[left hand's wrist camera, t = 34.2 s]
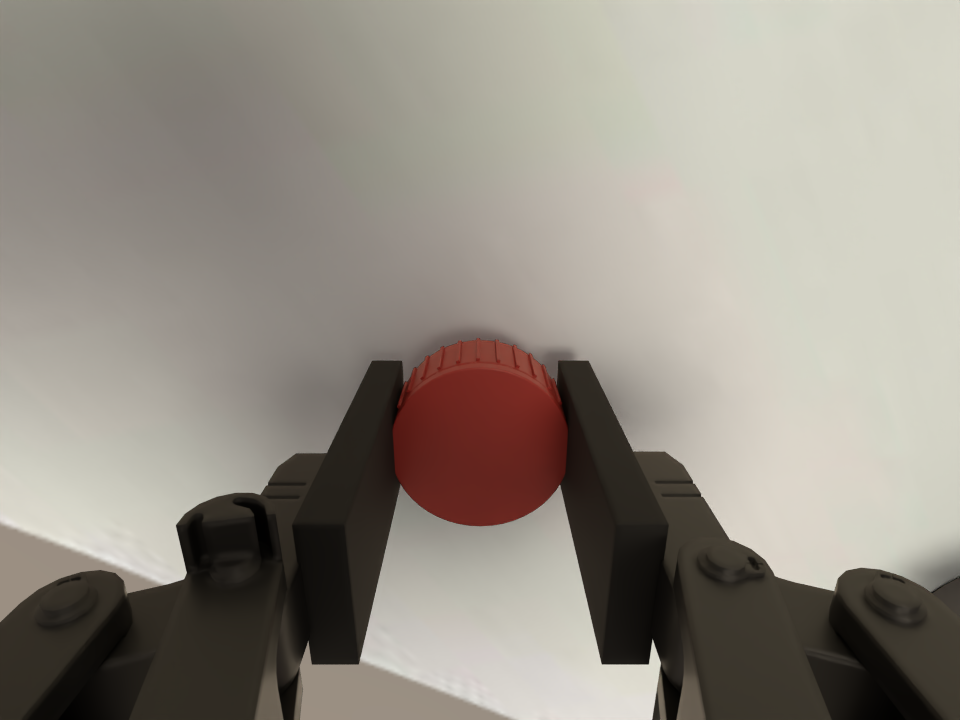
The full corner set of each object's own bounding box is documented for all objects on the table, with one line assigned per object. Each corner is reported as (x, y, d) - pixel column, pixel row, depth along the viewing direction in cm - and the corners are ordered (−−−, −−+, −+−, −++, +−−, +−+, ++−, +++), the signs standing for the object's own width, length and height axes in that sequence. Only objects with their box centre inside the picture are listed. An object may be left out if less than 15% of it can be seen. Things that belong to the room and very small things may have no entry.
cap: (509, 508, 16) (512, 554, 14) (370, 441, 15) (355, 482, 13) (594, 386, 14) (610, 421, 13) (446, 306, 14) (442, 331, 12)
